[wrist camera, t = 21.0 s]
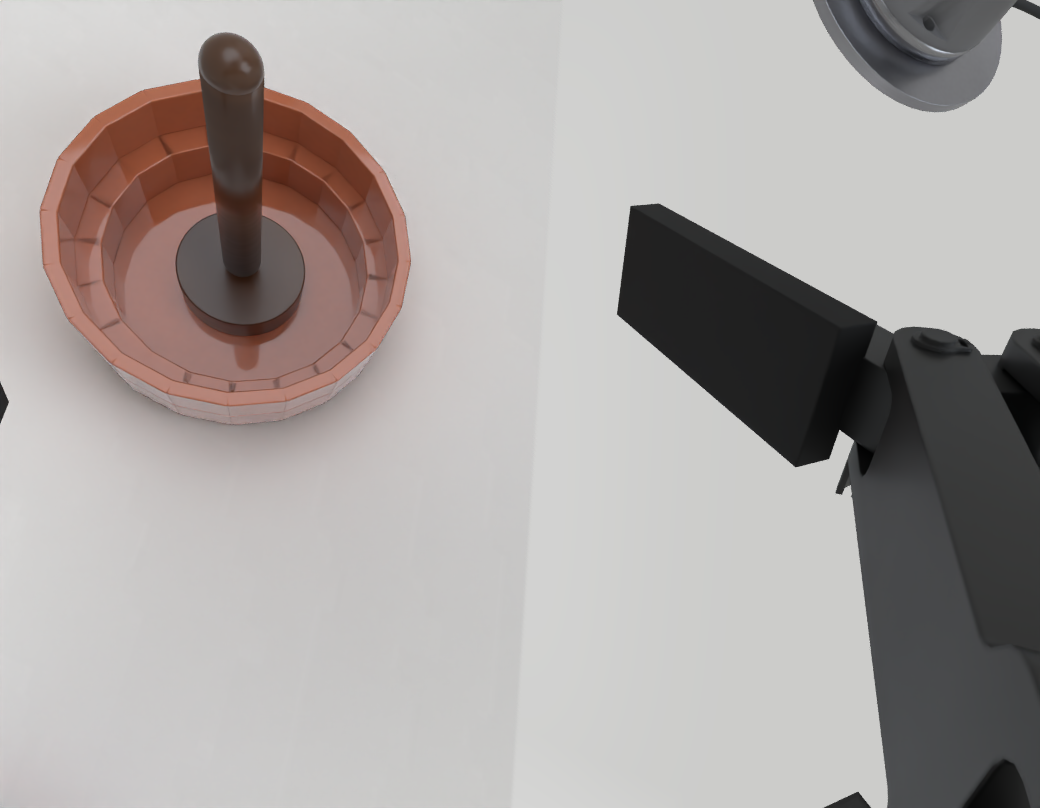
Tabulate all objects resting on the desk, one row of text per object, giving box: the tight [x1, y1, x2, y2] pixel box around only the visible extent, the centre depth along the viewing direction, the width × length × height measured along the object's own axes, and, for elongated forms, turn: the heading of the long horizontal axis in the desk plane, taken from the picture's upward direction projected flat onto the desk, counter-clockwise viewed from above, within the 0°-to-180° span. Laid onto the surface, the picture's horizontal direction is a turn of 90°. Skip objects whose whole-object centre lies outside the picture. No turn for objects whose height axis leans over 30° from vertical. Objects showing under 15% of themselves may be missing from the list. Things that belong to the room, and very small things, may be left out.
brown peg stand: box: [175, 32, 305, 336], centre depth 25 cm, size 6×6×18 cm
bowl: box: [40, 79, 411, 425], centre depth 31 cm, size 14×14×6 cm
